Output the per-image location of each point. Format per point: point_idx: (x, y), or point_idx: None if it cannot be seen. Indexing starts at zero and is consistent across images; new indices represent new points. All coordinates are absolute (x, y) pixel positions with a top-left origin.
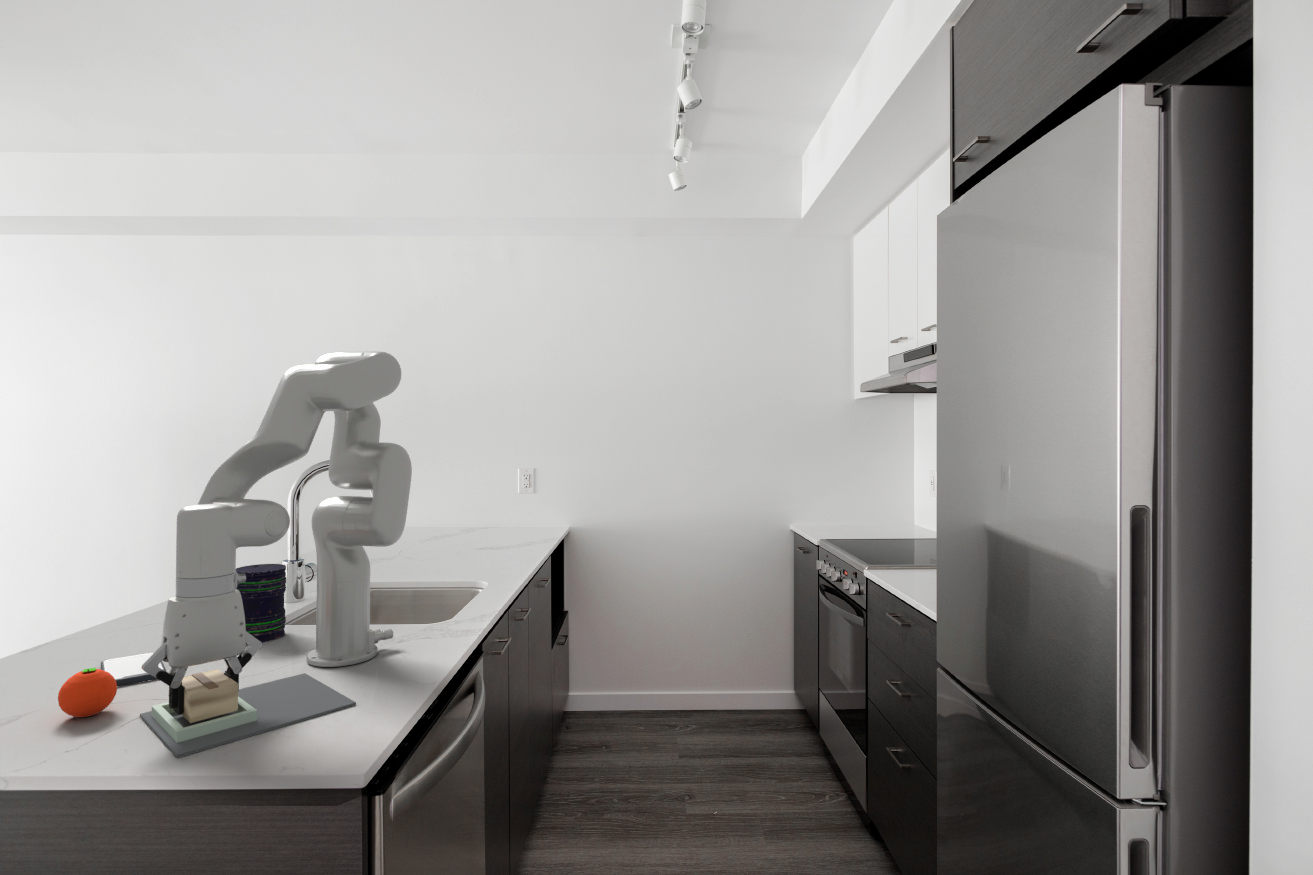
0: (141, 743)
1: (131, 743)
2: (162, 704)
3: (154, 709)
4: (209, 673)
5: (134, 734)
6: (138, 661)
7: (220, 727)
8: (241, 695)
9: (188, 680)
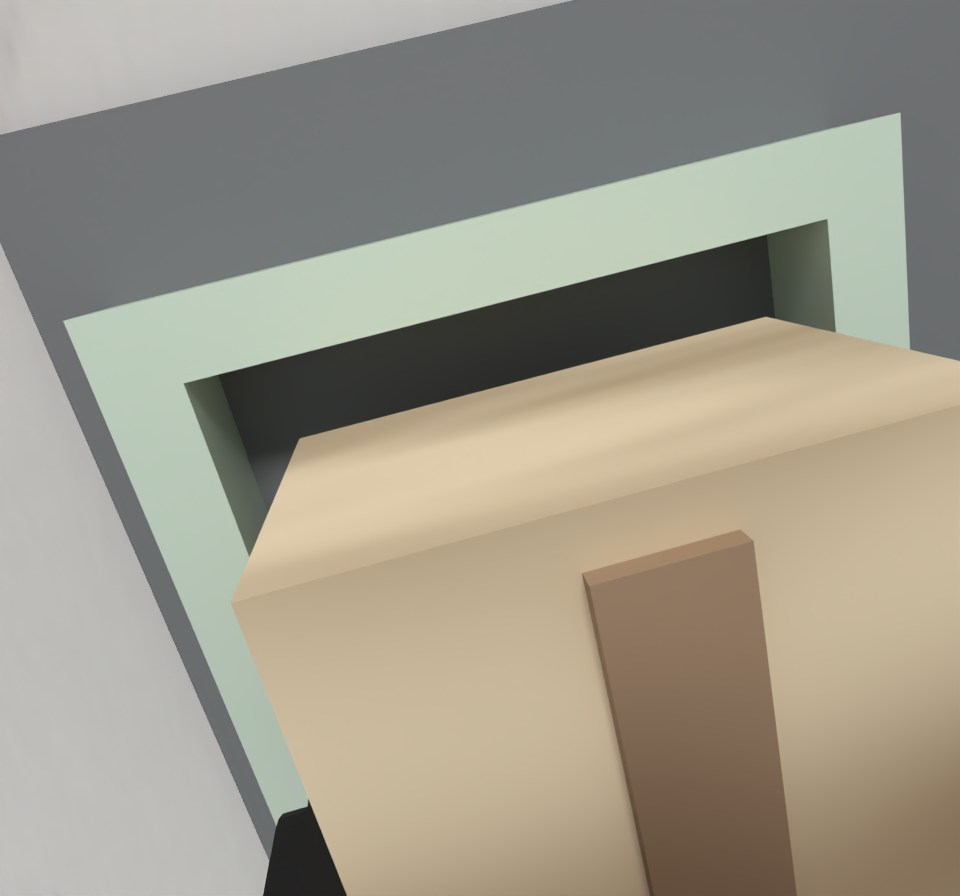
0: (150, 850)
1: (74, 821)
2: (187, 330)
3: (121, 449)
4: (861, 595)
5: (51, 650)
6: None
7: None
8: (947, 179)
9: (514, 809)
